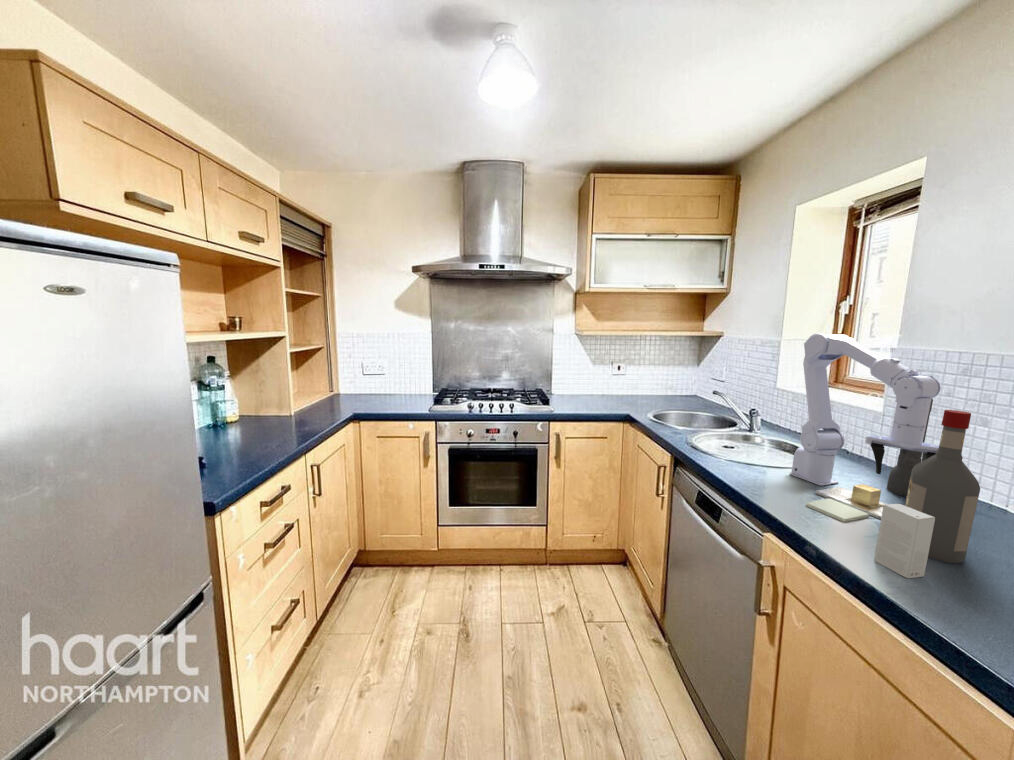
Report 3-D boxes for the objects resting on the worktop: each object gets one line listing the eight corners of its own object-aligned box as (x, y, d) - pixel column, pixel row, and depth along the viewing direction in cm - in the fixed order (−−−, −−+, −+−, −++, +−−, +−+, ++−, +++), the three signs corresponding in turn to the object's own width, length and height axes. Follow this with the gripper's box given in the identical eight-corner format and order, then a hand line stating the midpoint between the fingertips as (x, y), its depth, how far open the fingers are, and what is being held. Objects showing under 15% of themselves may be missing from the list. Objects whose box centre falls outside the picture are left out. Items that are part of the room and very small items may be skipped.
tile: (805, 505, 105) (806, 502, 105) (829, 501, 108) (829, 498, 108) (844, 522, 96) (844, 519, 96) (868, 517, 99) (868, 514, 99)
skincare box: (925, 577, 76) (937, 517, 74) (907, 579, 75) (919, 519, 73) (888, 558, 82) (899, 502, 80) (872, 560, 81) (882, 504, 79)
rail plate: (815, 493, 112) (815, 490, 112) (838, 489, 116) (839, 486, 116) (894, 525, 96) (895, 521, 96) (919, 519, 99) (920, 516, 99)
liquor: (957, 549, 86) (987, 412, 81) (965, 568, 79) (998, 419, 74) (898, 533, 92) (923, 404, 87) (900, 550, 85) (927, 411, 80)
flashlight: (882, 485, 120) (892, 494, 114) (899, 392, 116) (910, 396, 109) (914, 490, 117) (925, 499, 111) (932, 395, 113) (945, 399, 106)
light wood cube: (850, 503, 107) (853, 485, 106) (860, 501, 108) (863, 484, 108) (868, 510, 103) (871, 491, 102) (877, 508, 105) (881, 490, 104)
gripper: (871, 421, 100) (861, 473, 102) (956, 433, 91) (944, 490, 93) (868, 416, 105) (859, 466, 107) (948, 427, 97) (937, 481, 99)
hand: (898, 476), depth 101 cm, fingers open, 7 cm apart
